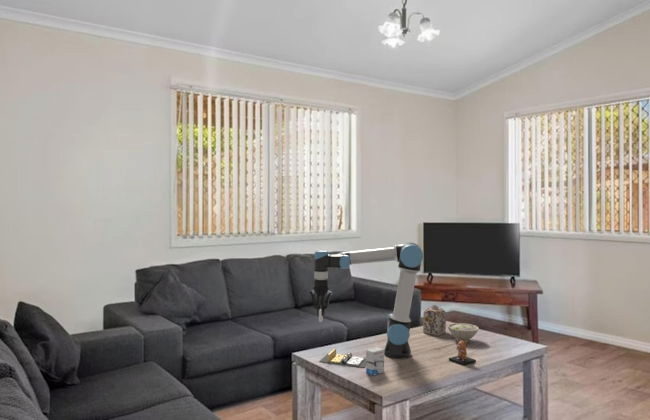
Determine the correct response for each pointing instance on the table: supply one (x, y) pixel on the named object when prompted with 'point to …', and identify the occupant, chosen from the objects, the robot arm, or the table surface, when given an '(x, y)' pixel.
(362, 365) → the grey two-tone fixture
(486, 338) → the table surface
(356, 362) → the fixed leaf
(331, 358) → the loose leaf
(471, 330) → the bowl
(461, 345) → the figurine
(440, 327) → the decorative jar
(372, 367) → the ink box
